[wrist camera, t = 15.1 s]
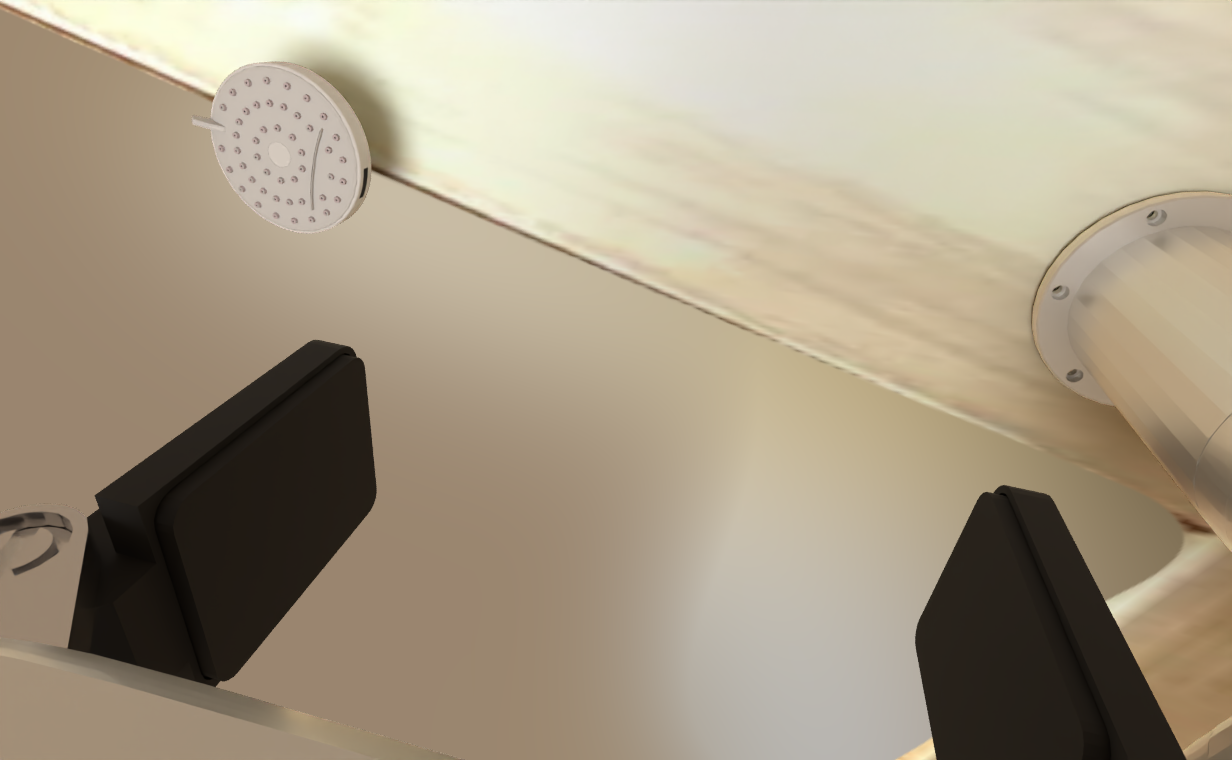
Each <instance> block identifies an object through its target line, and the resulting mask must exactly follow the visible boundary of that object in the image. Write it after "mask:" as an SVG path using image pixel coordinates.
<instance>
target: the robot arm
mask: <svg viewBox="0 0 1232 760" xmlns="http://www.w3.org/2000/svg"><path fill="white" fill-rule="evenodd" d="M1153 211H1154V214H1153V215H1152V216H1151V217H1149V218H1147V216H1148V215H1149V214H1150V213H1151V212H1153ZM1058 286H1060V287H1059V289H1058V290H1056V291H1053V289H1054V288H1055V287H1058ZM1032 330H1033V336H1034V341H1035V345H1036V347H1037V349H1038V352H1039V354H1040V356H1041V358H1042V360H1043V362H1044V363H1045V364H1046V366H1047V367H1048V368H1049V370H1050V371H1051V373H1052V374H1053V375H1054V376H1055V377H1056V378H1057V379H1058V380H1059V381H1060V382H1061V383H1062V384H1063V385H1064V386H1065V387H1067V388H1069V389H1070V390H1072V391H1073V392H1075V393H1077V394H1078V395H1080V396H1082V397H1084V398H1087V399H1089V400H1092V401H1095V402H1097V403H1100V404H1104V405H1109V406H1115V407H1116V408H1117V409H1118V410H1119V411H1120V413H1121V414H1122V415H1123V417H1124V418H1125V419H1126V420H1127V422H1128V423H1129V424H1130V426H1131V427H1132V428H1133V429H1134V431H1135V432H1136V433H1137V434H1138V436H1139V437H1140V438H1141V440H1142V441H1143V442H1144V443H1145V445H1146V446H1147V447H1148V449H1149V450H1150V451H1151V452H1152V454H1153V455H1154V456H1155V458H1156V459H1157V460H1158V461H1159V463H1160V464H1161V465H1162V466H1163V468H1164V469H1165V470H1166V472H1167V473H1168V474H1169V475H1170V477H1171V478H1172V479H1173V481H1174V482H1175V483H1176V484H1177V486H1178V487H1179V488H1180V489H1181V491H1182V492H1183V493H1184V495H1185V496H1186V497H1187V498H1188V500H1189V501H1190V502H1191V504H1192V505H1193V506H1194V507H1195V509H1196V510H1197V511H1198V512H1199V514H1200V515H1201V516H1202V518H1203V519H1204V520H1205V521H1206V523H1207V524H1208V525H1209V526H1210V527H1211V528H1212V530H1213V531H1214V532H1215V533H1216V535H1217V536H1218V537H1219V538H1220V540H1221V541H1222V542H1223V543H1224V545H1225V546H1226V547H1227V548H1228V549H1229V550H1230V551H1231V552H1232V195H1230V194H1223V193H1216V192H1209V191H1206V192H1180V193H1174V194H1169V195H1163V196H1158V197H1153V198H1150V199H1147V200H1144V201H1141V202H1138V203H1135V204H1132V205H1129V206H1127V207H1125V208H1123V209H1121V210H1119V211H1117V212H1115V213H1113V214H1111V215H1109V216H1107V217H1105V218H1103V219H1101V220H1100V221H1099V222H1097V223H1096V224H1094V225H1093V226H1091V227H1090V228H1089V229H1087V230H1086V231H1084V232H1083V233H1081V234H1080V235H1079V236H1078V237H1077V238H1076V239H1075V240H1074V241H1073V242H1072V243H1071V244H1070V245H1069V246H1067V247H1066V248H1065V249H1064V250H1063V251H1062V253H1061V254H1060V255H1059V256H1058V258H1057V259H1056V260H1055V262H1054V263H1053V264H1052V266H1051V267H1050V268H1049V270H1048V271H1047V273H1046V275H1045V277H1044V279H1043V281H1042V283H1041V285H1040V287H1039V289H1038V292H1037V296H1036V299H1035V303H1034V306H1033V315H1032ZM1071 370H1072V371H1071ZM1069 371H1070V372H1069ZM95 497H96V501H97V503H98V506H99V509H98V510H97V511H95V512H94V513H93V514H91V515H90V516H89V517H87V518H86V517H85V516H84V515H83V514H82V512H80V510H78V509H76V508H73V507H70V506H67V505H64V504H51V503H43V504H34V505H25V506H21V507H17V508H13V509H9V510H5V511H1V512H0V760H464V759H460V758H457V757H453V756H450V755H446V754H443V753H440V752H436V751H433V750H429V749H426V748H423V747H419V746H416V745H413V744H409V743H406V742H403V741H399V740H395V739H392V738H388V737H386V736H382V735H379V734H375V733H372V732H368V731H365V730H361V729H358V728H354V727H351V726H348V725H344V724H341V723H337V722H334V721H330V720H327V719H323V718H320V717H316V716H313V715H310V714H306V713H303V712H299V711H296V710H292V709H289V708H285V707H282V706H278V705H275V704H271V703H268V702H265V701H261V700H258V699H254V698H251V697H247V696H243V695H241V694H237V693H234V692H230V691H227V690H223V689H220V688H216V686H217V684H218V683H219V682H220V681H227V680H229V679H231V678H232V677H234V676H235V675H236V674H237V673H238V671H239V670H240V669H241V668H242V667H243V665H244V664H245V663H246V662H247V661H248V659H249V658H250V657H251V656H252V654H253V653H254V652H255V651H256V650H257V648H258V647H259V646H260V645H261V644H262V642H263V641H264V640H265V638H266V637H267V636H268V635H269V634H270V633H271V631H272V630H273V629H274V627H276V625H277V624H278V623H279V622H280V620H281V619H282V618H283V617H284V616H285V614H286V613H287V612H288V611H289V609H290V608H291V607H292V606H293V605H294V603H295V602H296V601H297V600H298V598H299V597H300V596H301V595H302V594H303V592H304V591H305V590H306V588H307V587H308V586H309V585H310V584H311V583H312V581H313V580H314V579H315V578H316V577H317V575H318V574H319V573H320V572H321V570H322V569H323V568H324V567H325V566H326V564H327V563H328V562H329V561H330V560H331V558H332V557H333V556H334V554H335V553H336V552H337V551H338V550H339V548H340V547H341V546H342V545H343V544H344V542H345V541H346V540H347V539H348V538H349V536H350V535H351V534H352V533H353V531H354V530H355V529H356V528H357V526H358V525H359V524H360V523H361V522H362V520H363V519H364V518H365V517H366V516H367V514H368V513H369V512H370V510H371V508H372V506H373V504H374V501H375V498H376V478H375V468H374V457H373V447H372V437H371V426H370V416H369V406H368V396H367V386H366V374H365V366H364V363H363V361H362V360H361V359H360V358H357V357H356V354H355V352H354V350H353V349H352V348H351V347H348V346H344V345H339V344H335V343H330V342H325V341H320V340H313V341H310V342H308V343H307V344H306V345H304V346H303V347H301V348H300V349H299V350H297V351H296V352H294V353H293V354H292V355H290V356H289V357H287V358H286V359H285V360H283V361H282V362H280V363H279V364H278V365H277V366H275V367H273V368H272V369H271V370H269V371H268V372H266V373H265V374H264V375H262V376H261V377H259V378H258V379H257V380H255V381H254V382H252V383H251V384H250V385H248V386H247V387H246V388H244V389H243V390H241V391H240V392H239V393H237V394H236V395H235V396H233V397H232V398H230V399H229V400H227V401H226V402H225V403H223V404H222V405H220V406H219V407H218V408H216V409H215V410H214V411H212V412H211V413H209V414H208V415H207V416H205V417H204V418H202V419H201V420H200V421H198V422H197V423H195V424H194V425H192V426H191V427H190V428H188V429H187V430H185V431H184V432H183V433H181V434H180V435H178V436H177V437H176V438H174V439H173V440H171V441H170V442H169V443H167V444H166V445H165V446H163V447H162V448H160V449H159V450H157V451H156V452H155V453H153V454H152V455H150V456H149V457H148V458H146V459H145V460H144V461H142V462H141V463H139V464H138V465H137V466H135V467H134V468H132V469H131V470H130V471H128V472H127V473H125V474H124V475H123V476H121V477H120V478H118V479H117V480H116V481H114V482H113V483H111V484H110V485H109V486H107V487H106V488H104V489H103V490H102V491H100V492H99V493H97V494H96V495H95ZM915 644H916V652H917V657H918V662H919V668H920V673H921V678H922V684H923V689H924V694H925V700H926V705H927V710H928V716H929V721H930V727H931V731H932V737H933V743H934V748H935V753H936V759H937V760H1232V716H1231V717H1230V718H1228V719H1227V720H1225V721H1224V722H1222V723H1221V724H1219V725H1217V726H1216V728H1214V729H1213V730H1211V731H1210V732H1208V733H1206V734H1205V735H1203V736H1202V737H1200V738H1199V739H1197V740H1196V741H1195V742H1193V743H1192V744H1191V745H1190V746H1188V747H1187V748H1186V749H1184V750H1183V751H1182V750H1181V748H1180V746H1179V744H1178V742H1177V740H1176V738H1175V736H1174V734H1173V732H1172V730H1171V728H1170V726H1169V724H1168V722H1167V720H1166V718H1165V716H1164V715H1163V713H1162V711H1161V709H1160V707H1159V705H1158V703H1157V701H1156V699H1155V697H1154V695H1153V693H1152V691H1151V689H1150V687H1149V685H1148V683H1147V681H1146V679H1145V678H1144V676H1143V674H1142V672H1141V670H1140V668H1139V666H1138V664H1137V662H1136V660H1135V658H1134V656H1133V654H1132V652H1131V650H1130V648H1129V646H1128V644H1127V642H1126V641H1125V639H1124V637H1123V635H1122V633H1121V631H1120V629H1119V627H1118V625H1117V623H1116V621H1115V619H1114V618H1113V616H1112V614H1111V612H1110V610H1109V608H1108V606H1107V604H1106V602H1105V600H1104V598H1103V596H1102V594H1101V592H1100V590H1099V589H1098V587H1097V585H1096V583H1095V581H1094V579H1093V577H1092V575H1091V573H1090V571H1089V569H1088V567H1087V565H1086V563H1085V561H1084V559H1083V557H1082V555H1081V553H1080V552H1079V550H1078V548H1077V546H1076V544H1075V542H1074V540H1073V538H1072V536H1071V534H1070V532H1069V530H1068V529H1067V526H1066V524H1065V522H1064V520H1063V519H1062V516H1061V515H1060V513H1059V511H1058V509H1057V507H1056V505H1055V503H1054V501H1053V500H1052V498H1051V497H1050V496H1049V495H1047V494H1044V493H1039V492H1035V491H1029V490H1025V489H1020V488H1016V487H1011V486H1006V485H1003V486H1000V487H998V488H997V489H996V490H995V492H994V493H989V492H985V493H983V494H982V495H981V496H980V497H979V499H978V500H977V503H976V504H975V506H974V508H973V510H972V513H971V515H970V517H969V519H968V521H967V523H966V525H965V527H964V529H963V531H962V533H961V535H960V537H959V539H958V542H957V543H956V546H955V547H954V550H953V552H952V554H951V556H950V558H949V560H948V562H947V564H946V566H945V568H944V570H943V572H942V574H941V576H940V578H939V580H938V583H937V584H936V587H935V589H934V591H933V593H932V595H931V597H930V599H929V601H928V603H927V605H926V607H925V609H924V611H923V613H922V615H921V617H920V619H919V622H918V625H917V629H916V636H915Z"/></svg>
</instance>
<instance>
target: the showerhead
mask: <svg viewBox="0 0 1232 760" xmlns="http://www.w3.org/2000/svg"><path fill="white" fill-rule="evenodd" d="M192 124H193V125H197V126H200V127H204V128H207V129H211V137H212V143H213V146H214V150H215V154H216V157H217V160H218V162H219V164H220V167H221V169H222V171H223V173H224V175H225V177H226V178H227V180H228V182H229V183H230V185H231V186H232V188H233V189H234V190H235V192H236V193H237V194H238V195H239V196H240V198H241V199H242V200H243V201H244V202H245V203H246V204H247V205H248V206H249V207H250V208H251V209H252V210H253V211H255V212H256V213H257V214H258V215H260V216H261V217H262V218H264V219H265V220H267V221H269V222H271V223H272V224H274V225H276V226H279V227H281V228H284V229H286V230H289V231H293V232H298V233H318V232H323V231H326V230H328V229H331V228H333V227H335V226H337V225H338V224H340V223H342V222H343V221H345V220H347V219H348V218H350V216H352V215H353V214H354V213H355V212H356V211H357V210H358V209H359V207H360V206H361V205H362V203H363V201H364V199H365V197H366V195H367V192H368V189H369V184H370V179H371V157H370V150H369V146H368V142H367V139H366V136H365V133H364V130H363V128H362V125H361V123H360V121H359V119H358V117H357V116H356V114H355V112H354V111H353V109H352V108H351V106H350V105H349V103H348V102H347V101H346V99H345V98H344V97H343V96H342V95H341V94H340V93H339V91H338V90H337V89H336V88H335V87H334V86H332V85H331V84H330V83H329V82H328V81H326V80H325V79H324V78H322V77H321V76H319V75H318V74H316V73H315V72H313V71H311V70H309V69H307V68H304V67H302V66H299V65H296V64H292V63H286V62H263V63H253V64H249V65H246V66H243V67H240V68H239V69H237V70H235V71H234V72H232V73H231V74H230V75H229V76H228V77H227V78H226V79H225V80H224V81H223V82H222V84H221V85H220V87H219V88H218V90H217V93H216V95H215V97H214V100H213V105H212V110H211V119H210V118H205V117H200V116H195V115H192Z"/></svg>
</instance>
